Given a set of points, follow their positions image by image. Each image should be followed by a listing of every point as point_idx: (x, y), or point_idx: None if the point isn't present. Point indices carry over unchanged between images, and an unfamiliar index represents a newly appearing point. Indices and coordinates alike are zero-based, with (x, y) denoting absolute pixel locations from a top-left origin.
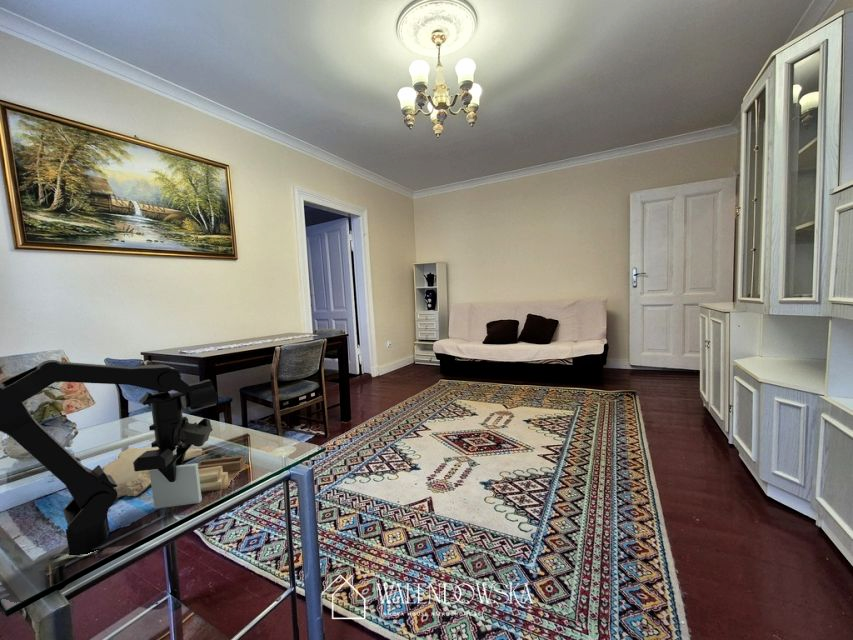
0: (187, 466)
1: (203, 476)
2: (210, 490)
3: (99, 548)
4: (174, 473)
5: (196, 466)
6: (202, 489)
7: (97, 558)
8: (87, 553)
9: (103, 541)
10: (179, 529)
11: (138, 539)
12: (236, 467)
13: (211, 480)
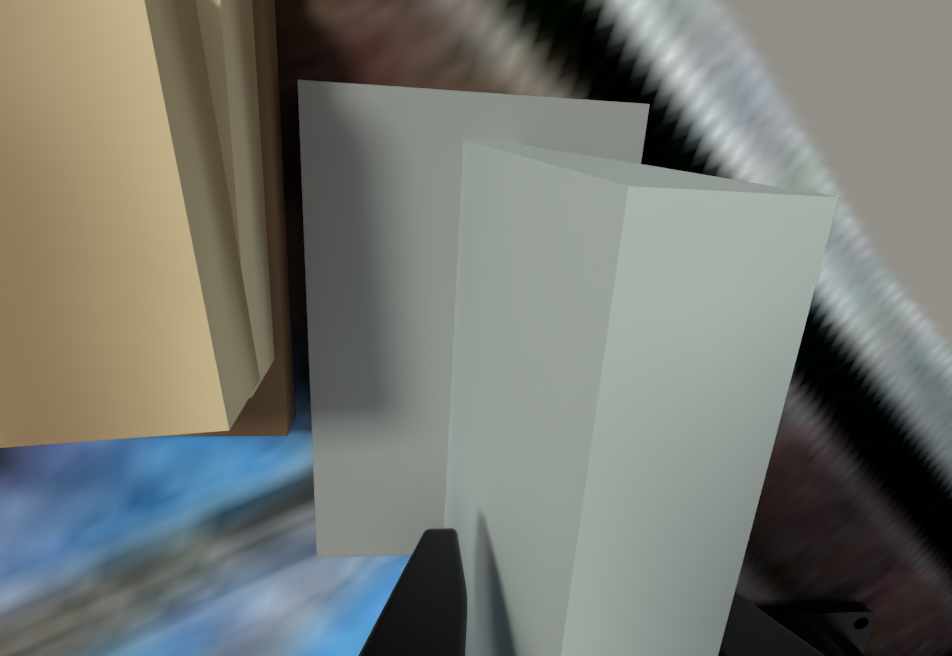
0: (760, 471)
1: (186, 203)
2: (269, 105)
3: (836, 620)
4: (776, 638)
5: (708, 183)
6: (260, 207)
7: (891, 579)
8: (859, 652)
9: (805, 638)
10: (828, 195)
11: (810, 450)
12: None
13: (197, 80)
